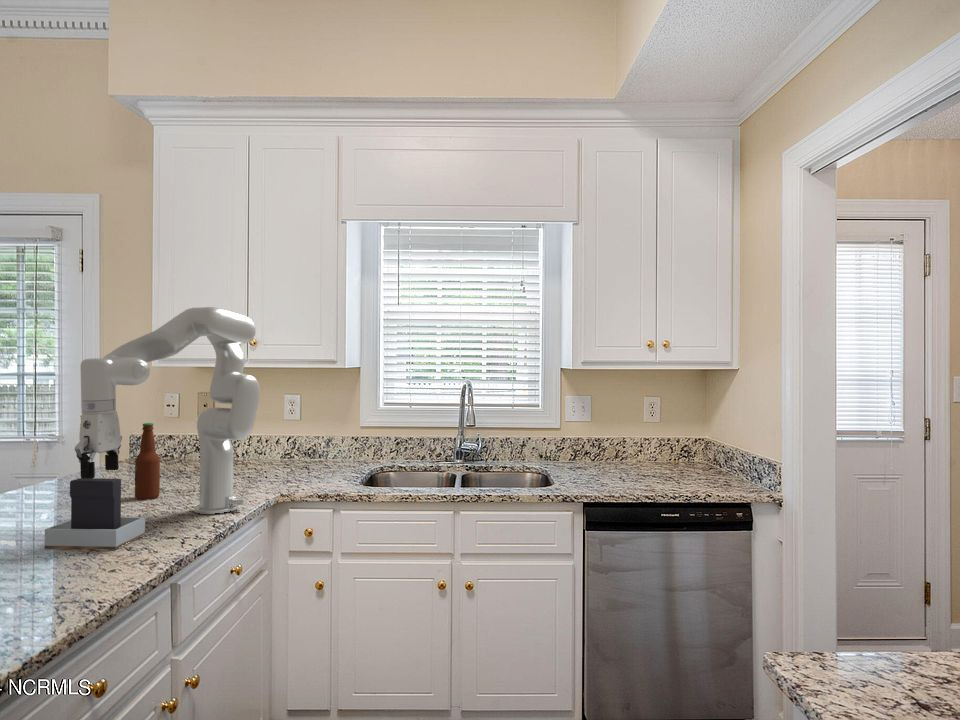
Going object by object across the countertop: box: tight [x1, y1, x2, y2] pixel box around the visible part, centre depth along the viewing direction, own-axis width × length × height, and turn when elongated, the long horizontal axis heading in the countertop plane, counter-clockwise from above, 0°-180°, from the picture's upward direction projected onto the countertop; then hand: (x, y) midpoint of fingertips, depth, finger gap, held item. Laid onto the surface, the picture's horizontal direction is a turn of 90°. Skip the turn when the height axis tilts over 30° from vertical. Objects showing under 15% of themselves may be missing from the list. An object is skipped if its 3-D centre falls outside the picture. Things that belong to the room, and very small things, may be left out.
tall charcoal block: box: [69, 477, 122, 530], centre depth 157 cm, size 11×4×15 cm, turn 89°
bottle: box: [134, 422, 161, 501], centre depth 207 cm, size 7×7×25 cm
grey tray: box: [44, 516, 146, 547], centre depth 157 cm, size 18×13×4 cm
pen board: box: [44, 532, 146, 550], centre depth 157 cm, size 18×13×1 cm
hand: (100, 473), depth 158 cm, fingers open, 9 cm apart
